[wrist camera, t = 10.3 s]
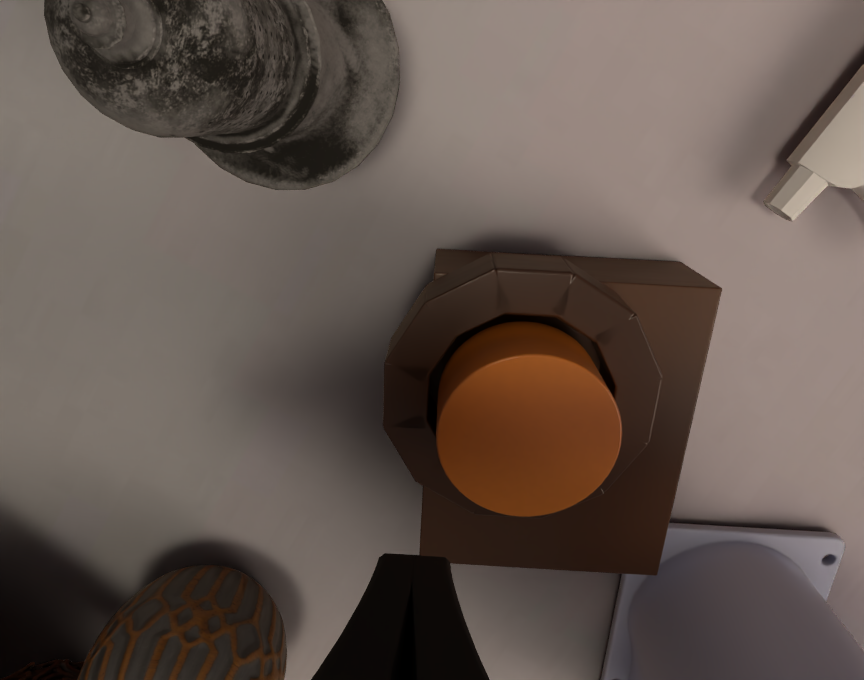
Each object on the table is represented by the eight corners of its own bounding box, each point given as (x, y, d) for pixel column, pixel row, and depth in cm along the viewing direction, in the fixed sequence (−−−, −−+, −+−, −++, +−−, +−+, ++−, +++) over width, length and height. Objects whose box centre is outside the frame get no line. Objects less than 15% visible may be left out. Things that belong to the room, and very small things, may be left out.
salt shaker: (279, -88, 16) (-87, -518, 5) (449, 53, 18) (447, -53, 6) (178, 97, 18) (-259, 69, 7) (338, 215, 19) (183, 354, 8)
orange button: (587, 470, 17) (607, 523, 15) (434, 461, 17) (431, 512, 15) (611, 325, 16) (637, 359, 13) (442, 315, 16) (440, 348, 13)
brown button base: (630, 516, 23) (676, 618, 18) (393, 502, 23) (378, 600, 19) (685, 241, 19) (760, 282, 15) (402, 226, 19) (386, 262, 15)
